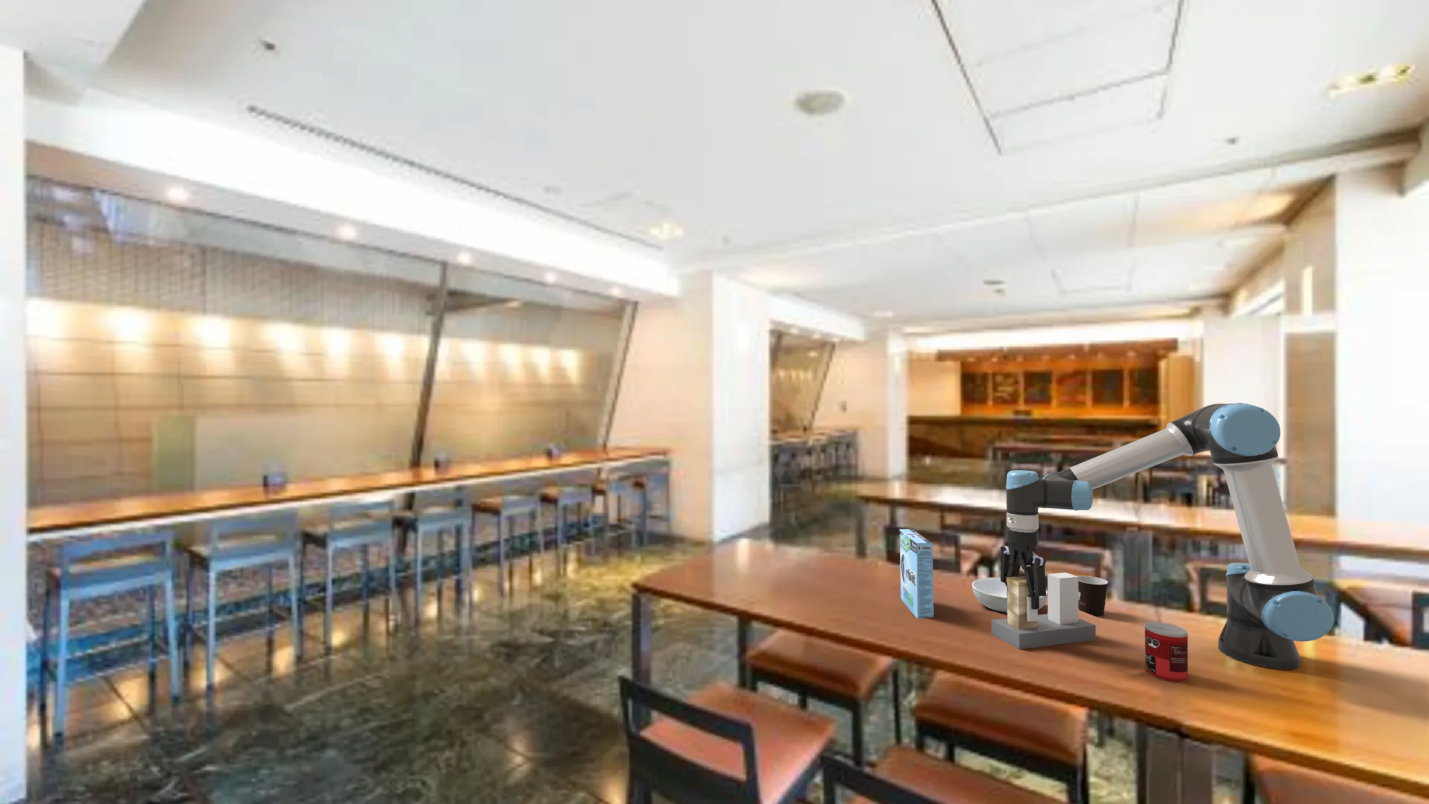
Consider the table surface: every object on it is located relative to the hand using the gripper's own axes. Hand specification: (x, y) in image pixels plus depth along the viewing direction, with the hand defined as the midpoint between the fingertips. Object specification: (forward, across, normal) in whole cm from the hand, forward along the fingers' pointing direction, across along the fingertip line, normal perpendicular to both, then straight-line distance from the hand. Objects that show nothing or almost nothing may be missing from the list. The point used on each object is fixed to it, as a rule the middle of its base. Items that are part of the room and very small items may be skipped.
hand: (1022, 615), depth 155 cm
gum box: (+8, -30, -12) cm, 33 cm away
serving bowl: (+8, -23, +16) cm, 29 cm away
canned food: (+8, +23, +20) cm, 31 cm away
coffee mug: (+8, -15, +38) cm, 42 cm away
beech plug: (+6, 0, 0) cm, 6 cm away
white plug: (+6, 0, +13) cm, 14 cm away
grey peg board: (+7, 0, +6) cm, 10 cm away
